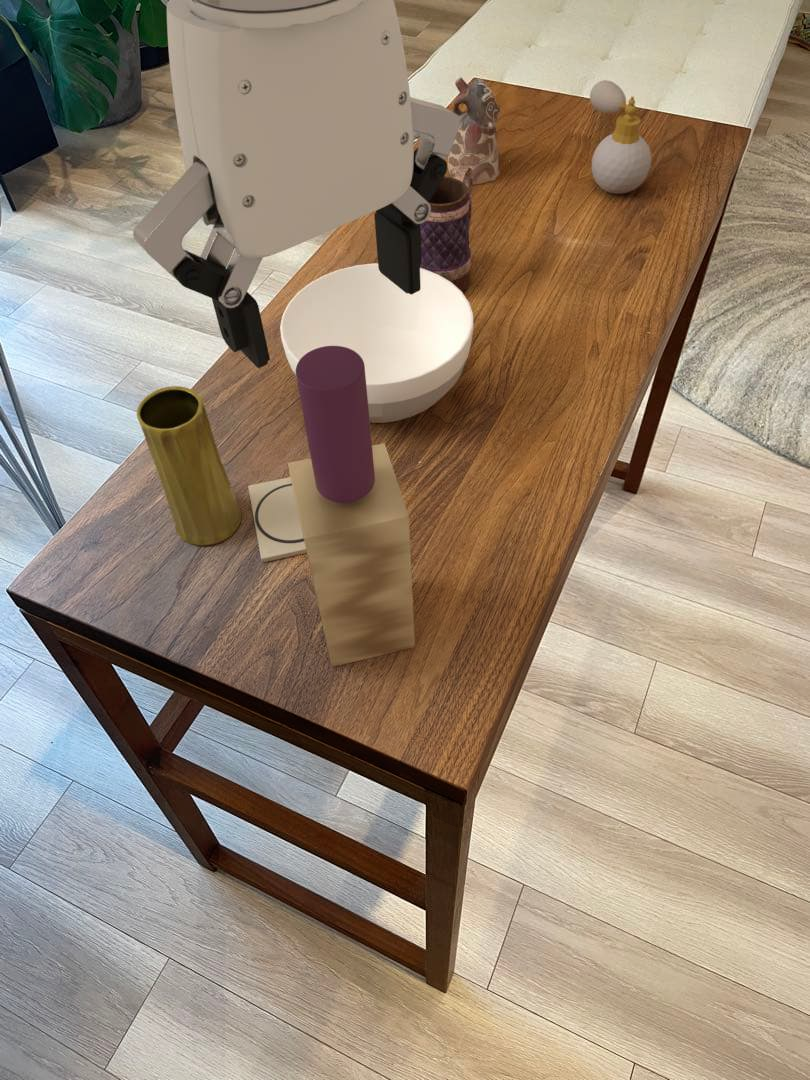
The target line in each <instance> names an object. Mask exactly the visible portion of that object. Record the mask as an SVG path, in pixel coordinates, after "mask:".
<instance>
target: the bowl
mask: <svg viewBox="0 0 810 1080" xmlns="http://www.w3.org/2000/svg"><path fill="white" fill-rule="evenodd" d="M420 286H421V288H420V291H418V292H416V293H414V294H412V295H411V294H409V293H408V294H407V293H405V292H404V291H403V290H402V289H400V288H399V287H398V286H397V285H395V284H394V283H393V282H392V281H390V280H389V279H388V278H387V277H385V276H384V275H383V274H382V273H381V272H380V271H379V268H378V262H377V263H376V262H375V263H366V264H356V265H352V266H348V267H345V268H340V269H337V270H335V271H332V272H330V273H329V272H328V273H327V274H324V275H322V276H320V277H317V279H315V280H313V281H311V282H309V283H308V284H306V285H305V286H304V287H303V288H301V289H300V290H299V291H298V292H297V293H296V294H295V295H294V296H293V297H292V299H291V300H290V301H289V302H288V303H287V305H286V308H285V309H284V311H283V313H282V316H281V321H280V325H279V330H280V339H281V344H282V346H283V347H282V348H283V350H284V353H285V357H286V359H287V361H288V364H289V367H290V369H291V371H292V372H293V374H294V375H295V377H296V366H297V364H298V362H299V360H300V359H301V358H302V357H303V356H304V355H305V354H307V353H308V352H310V351H312V350H314V349H317V348H320V347H325V346H342V347H346V348H349V349H351V350H353V351H355V352H356V353H358V354H359V355H360V356H361V358H362V359H363V362H364V366H365V376H366V387H367V398H368V408H369V419H370V423H373V424H386V423H392V422H397V421H401V420H405V419H409V418H411V417H414V416H416V415H418V414H419V415H420V414H421V413H423V412H425V411H426V410H428V409H429V408H431V407H433V405H435V404H436V403H438V402H439V401H440V400H441V399H442V398H443V397H444V396H445V395H446V394H447V393H448V392H450V390H451V389H452V388H453V387H454V386H455V385H456V384H457V382H458V380H459V378H460V377H461V376H462V374H463V370H464V367H465V365H466V362H467V359H468V357H469V354H470V350H471V347H472V342H473V334H474V326H475V325H474V312H473V309H472V307H471V303H470V302H469V300H468V299H467V298H466V296H465V294H464V292H462V291H460V290H459V289H458V288H457V287H456V286H455V285H454V284H453V283H452V282H450V281H448V280H447V279H445V278H443V277H442V276H440V275H438V274H435V273H433V272H430V271H428V270H425V269H422V268H420ZM296 379H297V377H296Z"/></svg>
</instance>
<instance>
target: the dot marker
mask: <svg viewBox="0 0 810 1080" xmlns="http://www.w3.org/2000/svg"><path fill="white" fill-rule="evenodd" d="M295 377H297V378H296V382H297V387H298V394H299V399H300V404H301V410H302V416H303V420H304V421H303V422H304V427H305V433H306V438H307V443H308V449H309V450H308V451H309V455H310V458H311V461H312V467H313V472H314V478H315V483H316V488H317V490H318V492H319V493H320V494H321V495H322V496H323V497H325V498H326V499H328V500H330V501H333V502H338V503H348V502H353V501H357V500H359V499H361V498H363V497H364V496H366V495H367V494H368V493H369V492H370V491H371V489H372V488H373V486H374V483H375V472H374V462H373V451H372V446H373V443H372V433H371V431H372V429H371V422H370V419H369V408H368V398H367V387H366V376H365V366H364V362H363V359H362V358H361V356H360V355H359V354H358V353H356V352H355V351H353V350H351V349H349V348H346V347H342V346H325V347H320V348H317V349H314V350H312V351H310V352H308V353H307V354H305V355H304V356H303V357H302V358H301V359H300V360H299V362H298V364H297V366H296V376H295Z"/></svg>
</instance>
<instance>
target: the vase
mask: <svg viewBox="0 0 810 1080" xmlns="http://www.w3.org/2000/svg"><path fill="white" fill-rule="evenodd" d="M136 418H137V421H138V422H139V425H140V428H141V430H142V433H143V436H144V438H145V442H146V445H147V448H148V451H149V453H150V455H151V458H152V461H153V463H154V465H155V468H156V471H157V475H158V476H159V479H160V483H161V485H162V488H163V492H164V495H165V497H166V501H167V504H168V507H169V510H170V514H171V516H172V519H173V521H174V527H175V531H176V533H177V534H178V536H179V537H180V538H181V539H182V540H183V541H185V542H186V543H188V544H191V545H195V546H201V547H204V546H212V545H216V544H219V543H221V542H223V541H226V539H228V538H230V537H231V536H232V535H233V534H234V533H235V532H236V531H237V529H238V528H239V526H240V525H241V521H242V509H241V508H240V505H239V504H238V501H237V498H236V496H235V493H234V490H233V488H232V485H231V482H230V479H229V477H228V474H227V472H226V469H225V467H224V465H223V463H222V460H221V456H220V454H219V453H220V452H219V450H218V447H217V443H216V440H215V436H214V434H213V432H212V428H211V427H212V426H211V424H210V420H209V417H208V414H207V411H206V406H205V404H204V402H203V400H202V398H201V396H200V395H199V393H197V392H196V391H194V390H193V389H191V388H188V387H185V386H178V385H171V386H165V387H161V388H158V389H156V390H154V391H152V392H151V393H148V394H147V395H146V396H145V397H144V398H143V399H142V401H140V402H139V404H138V406H137V408H136Z"/></svg>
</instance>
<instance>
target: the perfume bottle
mask: <svg viewBox="0 0 810 1080" xmlns="http://www.w3.org/2000/svg"><path fill="white" fill-rule="evenodd" d="M589 101H590V102H589V103H590V104H591V106H592V108H594V109H595V110H596V111H598V112H600V113H602V114H611V115H612V114H617V113H619V112H622V111H623V110H624V112H625V114H621V115H619V116H618V117H617V118H616V121H615V128H614V130H613V132H612V133H610V134H609V135H607V136H606V137H604V138H603V139H602V140H601V141H600V142H599V143H598V145H597V146H596V148H595V150H594V152H593V155H592V158H591V167H590V169H591V173H592V177H593V179H594V181H595V183H596V184H597V185H598V186H599V187H600V189H601V190H603V191H605V192H607V193H609V194H615V195H622V194H627V193H630V192H633V191H635V190H636V189H637V188H638V187H639V186H641V185H642V184H643V183H644V181H645V180H646V178H647V177H648V175H649V172H650V170H651V166H652V154H651V150H650V146H649V145H648V143H647V141H646V140H645V139H644V138H643V137H642V136H641V135H640V134H639V130H640V126H641V118H640V117H639V116H637V115H634V114H635V113H636V112H637V106H636V105H635V104H636V100H635V96H630V98H629V99H628V104H627V97H626V95H625V93H624V91H623V89H622V88H621V87H620V86H619V85H618V84H617V83H615V82H613V81H611V80H606V79H603V80H599V81H598V82H596V83H595V84H594V85H593V86H592V88H591V90H590V92H589Z"/></svg>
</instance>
